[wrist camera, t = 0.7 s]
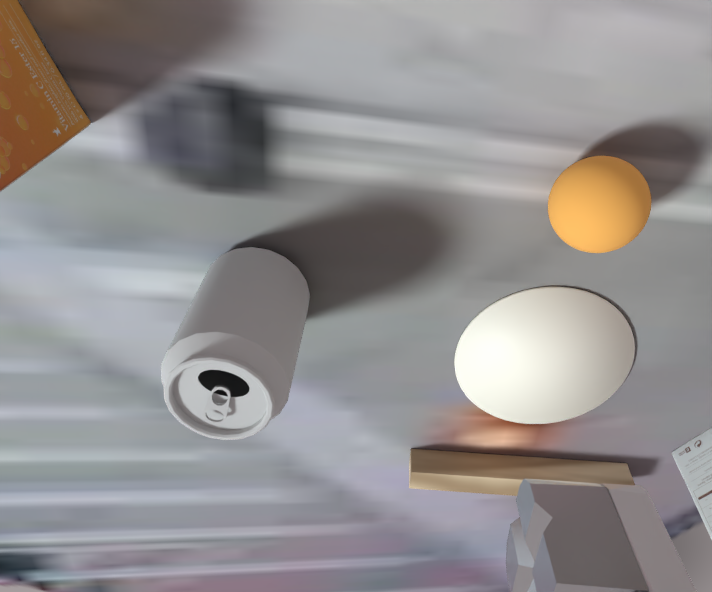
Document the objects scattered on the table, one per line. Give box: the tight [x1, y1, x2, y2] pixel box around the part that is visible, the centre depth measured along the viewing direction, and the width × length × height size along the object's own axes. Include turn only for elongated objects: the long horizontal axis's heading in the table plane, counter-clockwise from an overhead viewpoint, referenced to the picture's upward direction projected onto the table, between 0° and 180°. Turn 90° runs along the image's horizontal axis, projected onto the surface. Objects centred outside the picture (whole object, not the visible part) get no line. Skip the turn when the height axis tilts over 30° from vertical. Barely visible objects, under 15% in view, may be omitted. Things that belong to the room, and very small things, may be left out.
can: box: [161, 247, 310, 440], centre depth 39 cm, size 8×8×12 cm
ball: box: [548, 156, 651, 253], centre depth 36 cm, size 6×6×6 cm
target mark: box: [455, 287, 635, 424], centre depth 46 cm, size 13×13×1 cm
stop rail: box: [409, 449, 635, 496], centre depth 52 cm, size 2×18×2 cm, turn 88°
